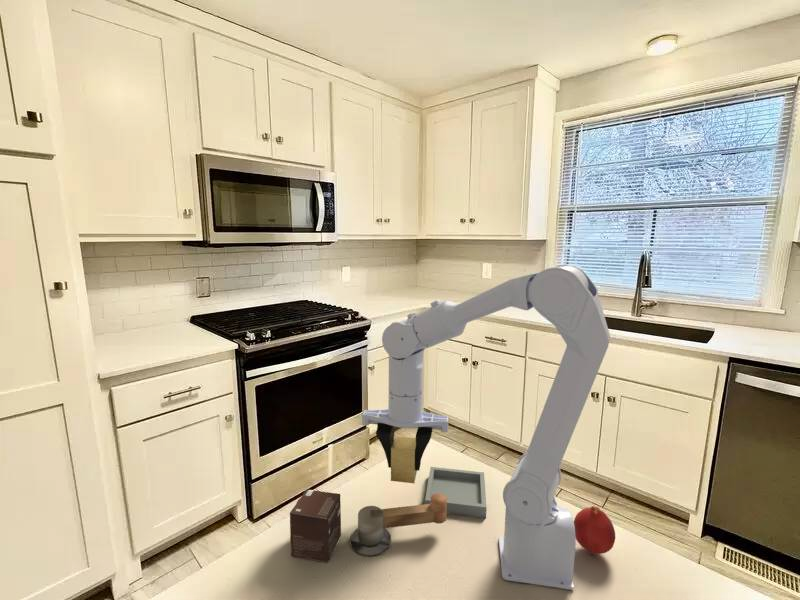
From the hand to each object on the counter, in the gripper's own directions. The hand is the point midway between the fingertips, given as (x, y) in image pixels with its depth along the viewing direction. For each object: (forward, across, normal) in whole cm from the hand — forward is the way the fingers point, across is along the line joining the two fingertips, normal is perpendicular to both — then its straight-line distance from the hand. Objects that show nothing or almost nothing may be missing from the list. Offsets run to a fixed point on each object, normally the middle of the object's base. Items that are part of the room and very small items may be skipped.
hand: (404, 466), depth 68 cm
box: (+9, +12, +10) cm, 18 cm away
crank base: (+9, +4, +8) cm, 12 cm away
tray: (+9, -9, -6) cm, 14 cm away
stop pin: (+2, 0, 0) cm, 2 cm away
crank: (+8, -1, +6) cm, 10 cm away
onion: (+9, -30, +4) cm, 31 cm away
